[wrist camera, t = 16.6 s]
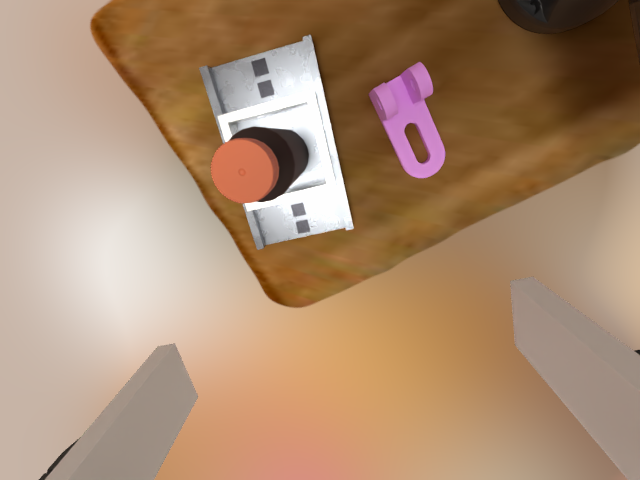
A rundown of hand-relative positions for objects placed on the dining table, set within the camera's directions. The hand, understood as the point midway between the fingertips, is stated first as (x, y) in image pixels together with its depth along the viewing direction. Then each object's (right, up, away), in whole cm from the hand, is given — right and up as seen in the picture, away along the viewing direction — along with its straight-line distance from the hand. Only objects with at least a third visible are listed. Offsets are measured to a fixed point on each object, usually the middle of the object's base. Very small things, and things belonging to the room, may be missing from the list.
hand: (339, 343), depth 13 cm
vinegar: (-6, +15, +31) cm, 35 cm away
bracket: (+11, +19, +30) cm, 37 cm away
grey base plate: (-6, +16, +32) cm, 36 cm away
